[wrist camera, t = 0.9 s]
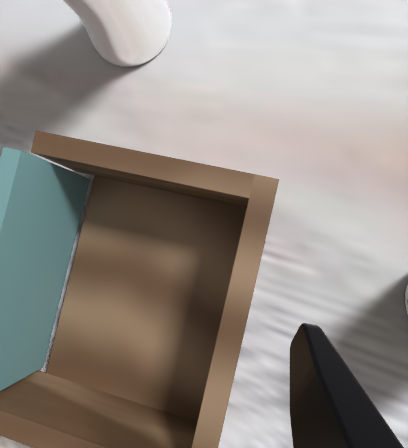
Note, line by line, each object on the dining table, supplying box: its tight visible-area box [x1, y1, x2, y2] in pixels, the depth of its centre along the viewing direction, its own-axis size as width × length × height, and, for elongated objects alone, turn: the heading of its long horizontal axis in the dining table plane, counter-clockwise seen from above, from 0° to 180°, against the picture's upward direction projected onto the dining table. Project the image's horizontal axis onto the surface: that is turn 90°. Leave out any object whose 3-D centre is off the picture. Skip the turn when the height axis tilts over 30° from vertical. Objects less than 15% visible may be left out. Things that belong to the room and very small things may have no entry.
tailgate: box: [0, 147, 90, 391], centre depth 20 cm, size 13×1×7 cm, turn 167°
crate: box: [0, 131, 279, 448], centre depth 21 cm, size 16×13×6 cm
